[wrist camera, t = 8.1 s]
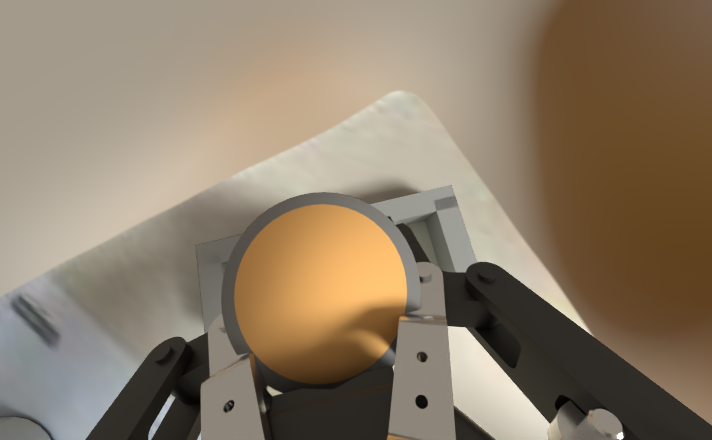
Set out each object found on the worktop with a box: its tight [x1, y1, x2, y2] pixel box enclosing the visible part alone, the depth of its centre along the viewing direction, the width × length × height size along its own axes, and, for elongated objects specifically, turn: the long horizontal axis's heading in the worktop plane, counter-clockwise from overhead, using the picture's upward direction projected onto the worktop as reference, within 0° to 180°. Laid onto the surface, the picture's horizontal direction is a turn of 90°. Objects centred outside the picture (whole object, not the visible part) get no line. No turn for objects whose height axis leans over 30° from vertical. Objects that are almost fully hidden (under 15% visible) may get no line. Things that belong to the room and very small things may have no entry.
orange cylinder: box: [221, 192, 421, 393], centre depth 12 cm, size 6×6×9 cm
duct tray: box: [195, 185, 477, 333], centre depth 19 cm, size 19×8×4 cm, turn 103°
